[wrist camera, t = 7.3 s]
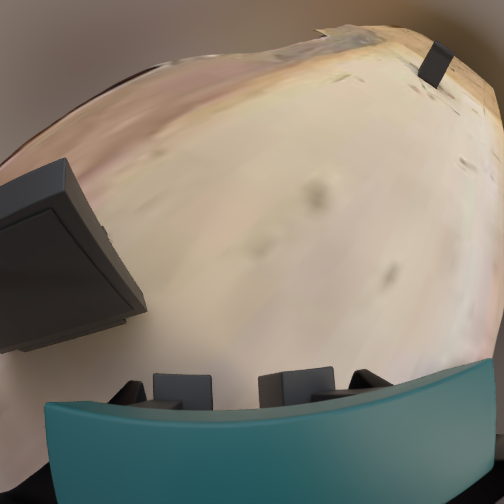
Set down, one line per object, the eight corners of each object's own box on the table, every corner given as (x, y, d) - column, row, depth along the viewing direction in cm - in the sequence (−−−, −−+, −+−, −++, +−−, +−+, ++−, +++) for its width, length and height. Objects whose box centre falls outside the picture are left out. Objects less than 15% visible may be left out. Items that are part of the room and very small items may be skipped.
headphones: (299, 437, 13) (489, 499, 2) (174, 444, 12) (85, 582, 1) (295, 373, 15) (487, 315, 4) (171, 377, 14) (43, 339, 3)
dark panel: (173, 381, 18) (90, 376, 5) (23, 414, 14) (-116, 402, 1) (128, 225, 22) (77, 72, 9) (2, 271, 18) (-94, 178, 5)
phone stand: (436, 88, 51) (455, 56, 40) (417, 75, 52) (435, 42, 41) (436, 80, 55) (453, 51, 44) (418, 69, 56) (435, 38, 45)
